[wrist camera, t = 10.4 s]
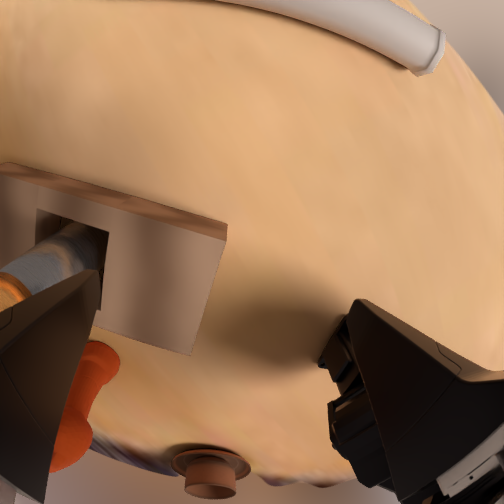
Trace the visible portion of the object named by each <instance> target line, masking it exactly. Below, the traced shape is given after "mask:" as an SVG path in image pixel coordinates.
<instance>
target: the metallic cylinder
mask: <svg viewBox="0 0 504 504" xmlns="http://www.w3.org/2000/svg"><path fill="white" fill-rule="evenodd" d="M108 239H109V232H108V231H105V230H102V229H99V228H96V227H93V226H90V225H87V224H84V223H80V222H77V221H74V222H72V223H70V224H69V225H67V226H65V227H64V228H62V229H60V230H59V231H57V232H55V233H54V234H52V235H51V236H49V237H48V238H46V239H44V240H43V241H41V242H40V243H38V244H37V245H35V246H34V247H32V248H31V249H29V250H28V251H26V252H25V253H23V254H22V255H20V256H19V257H17V258H16V259H15V260H13V261H12V262H10V263H9V264H8V265H6V266H5V267H3V268H2V269H1V270H0V312H1V311H3V310H5V309H7V308H9V307H11V306H12V307H13V305H15V304H16V303H18V302H20V301H22V300H24V299H26V298H28V297H30V296H32V295H34V294H36V293H38V292H40V291H42V290H44V289H46V288H48V287H50V286H52V285H54V284H56V283H58V282H60V281H62V280H64V279H67V278H69V277H71V276H73V275H75V274H77V273H79V272H81V271H83V270H86V269H91V270H97V271H99V270H100V269H101V268H102V267H103V266H104V265H105V260H106V253H107V245H108Z"/></svg>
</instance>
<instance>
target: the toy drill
mask: <svg viewBox="0 0 504 504" xmlns="http://www.w3.org/2000/svg"><path fill="white" fill-rule="evenodd" d="M119 365H120V359H119V357H118V355H117V354H116V352H115V351H114V350H113V349H112V348H110V347H109V346H108V345H106V344H104V343H101V342H97V341H93V342H89V343H87V344H86V346H85V348H84V351H83V354H82V356H81V359H80V362H79V365H78V368H77V370H76V373H75V376H74V379H73V382H72V385H71V388H70V391H69V395H68V398H67V401H66V404H65V408H64V411H63V415H62V418H61V422H60V426H59V429H58V433H57V437H56V441H55V445H54V451H53V455H52V460H51V465H50V470H49V473H52V472H56V471H58V470H61V469H64V468H66V467H68V466H70V465H72V464H73V463H75V462H77V461H78V460H79V459H80V458H81V457H82V456H83V455H84V454H85V452H86V451H87V449H88V448H89V446H90V444H91V442H92V436H93V432H92V428H91V426H90V425H89V423H88V422H87V418H88V414H89V411H90V408H91V406H92V403H93V401H94V399H95V397H96V395H97V394H98V392H99V390H100V389H101V387H102V386H103V385H105V384H106V383H108V382H109V381H110V380H111V379H112V378H113V377H114V376H115V375H116V374H117V372H118V369H119Z"/></svg>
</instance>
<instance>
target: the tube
mask: <svg viewBox="0 0 504 504" xmlns="http://www.w3.org/2000/svg"><path fill="white" fill-rule="evenodd" d="M217 1H223V2H229V3H235V4H240V5H245V6H250V7H255V8H259V9H263V10H267V11H271V12H275V13H279V14H282V15H286V16H289V17H292V18H296V19H299V20H302V21H305V22H308V23H311V24H314V25H317V26H319V27H322V28H325V29H327V30H330V31H333V32H335V33H338V34H340V35H343V36H345V37H347V38H350V39H352V40H354V41H356V42H359V43H361V44H363V45H365V46H367V47H369V48H371V49H373V50H375V51H377V52H379V53H381V54H383V55H385V56H387V57H389V58H391V59H393V60H394V61H396V62H398V63H400V64H402V65H403V66H405V67H407V68H408V69H409V70H410V71H411V72H412V73H413V74H414V75H415V76H417V77H418V76H422V75H425V74H429V73H433V71H434V69H435V68H436V66H437V64H438V63H439V61H440V59H441V58H442V56H443V54H444V49H445V39H446V33H445V32H443V31H442V30H440V29H438V28H436V27H435V26H433V25H431V24H430V25H429V24H428V23H426V22H424V21H423V20H421V19H420V18H418V17H417V16H415V15H413V14H412V13H410V12H408V11H407V10H405V9H403V8H402V7H400V6H398V5H396V4H395V3H393V2H391V1H389V0H217Z"/></svg>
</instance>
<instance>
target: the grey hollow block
mask: <svg viewBox="0 0 504 504" xmlns="http://www.w3.org/2000/svg"><path fill="white" fill-rule="evenodd" d="M61 216H62V217H65V218H68V219H71V220H74V221H77V222H80V223H84V224H87V225H90V226H93V227H96V228H99V229H102V230H105V231H108V232H109V239H108V245H107V253H106V260H105V269H104V278H103V282H101V281H100V291H101V295H100V300H99V304H98V307H97V310H96V314H95V317H94V321H93V325H94V326H97V327H99V328H102V329H105V330H108V331H110V332H113V333H116V334H119V335H122V336H125V337H128V338H131V339H134V340H137V341H140V342H143V343H146V344H149V345H153V346H156V347H159V348H163V349H166V350H170V351H173V352H177V353H180V354H184V355H188V356H191V352H192V349H193V346H194V342H195V339H196V336H197V332H198V329H199V326H200V323H201V319H202V316H203V313H204V310H205V306H206V303H207V300H208V297H209V294H210V291H211V287H212V284H213V281H214V278H215V275H216V272H217V269H218V266H219V262H220V259H221V256H222V253H223V250H224V247H225V244H226V240H227V226H228V224H225V223H222V222H218V221H215V220H212V219H209V218H205V217H202V216H199V215H195V214H192V213H189V212H185V211H182V210H179V209H175V208H172V207H169V206H165V205H162V204H158V203H155V202H152V201H148V200H145V199H141V198H138V197H134V196H131V195H127V194H124V193H120V192H117V191H113V190H110V189H106V188H103V187H99V186H96V185H92V184H88V183H85V182H81V181H77V180H74V179H70V178H67V177H63V176H59V175H55V174H52V173H48V172H44V171H40V170H37V169H33V168H29V167H25V166H21V165H18V164H14V163H10V162H7V163H3V164H0V270H1V269H2V268H3V267H5V266H6V265H8V264H9V263H10V262H12V261H13V260H15V259H16V258H17V257H19V256H20V255H22V254H23V253H25V252H26V251H28V250H29V249H31V248H32V247H34V246H35V245H37V244H38V243H40V242H41V241H43V240H44V239H46V238H48V237H49V236H51V235H52V234H54V233H55V232H57V231H59V228H60V218H61Z"/></svg>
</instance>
